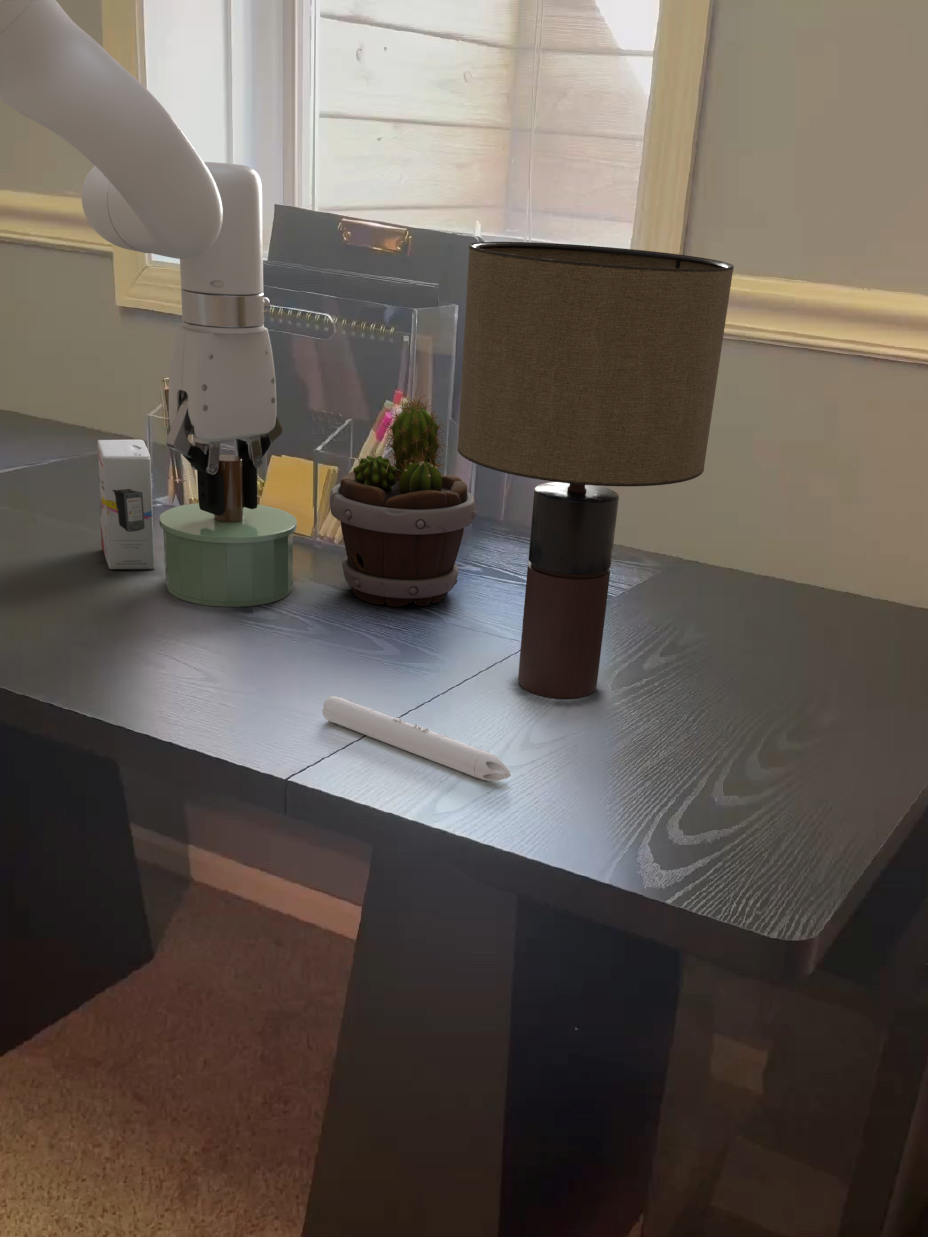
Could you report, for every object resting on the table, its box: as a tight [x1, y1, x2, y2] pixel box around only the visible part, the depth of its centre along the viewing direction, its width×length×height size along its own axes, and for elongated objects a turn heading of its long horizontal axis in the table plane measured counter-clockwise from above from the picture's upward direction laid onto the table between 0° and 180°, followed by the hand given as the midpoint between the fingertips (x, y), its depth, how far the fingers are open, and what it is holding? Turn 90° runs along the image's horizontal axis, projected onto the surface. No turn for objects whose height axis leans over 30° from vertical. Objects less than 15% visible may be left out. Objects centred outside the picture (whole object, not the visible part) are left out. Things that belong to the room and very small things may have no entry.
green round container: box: [162, 529, 294, 608], centre depth 132 cm, size 13×13×6 cm
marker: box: [321, 695, 512, 782], centre depth 100 cm, size 18×2×2 cm, turn 53°
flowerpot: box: [329, 387, 478, 608], centre depth 131 cm, size 14×15×20 cm
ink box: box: [97, 438, 156, 570], centre depth 137 cm, size 9×5×12 cm, turn 19°
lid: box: [158, 454, 298, 543], centre depth 129 cm, size 14×14×7 cm
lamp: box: [457, 241, 735, 699], centre depth 107 cm, size 20×20×35 cm
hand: (228, 507), depth 130 cm, fingers open, 3 cm apart
